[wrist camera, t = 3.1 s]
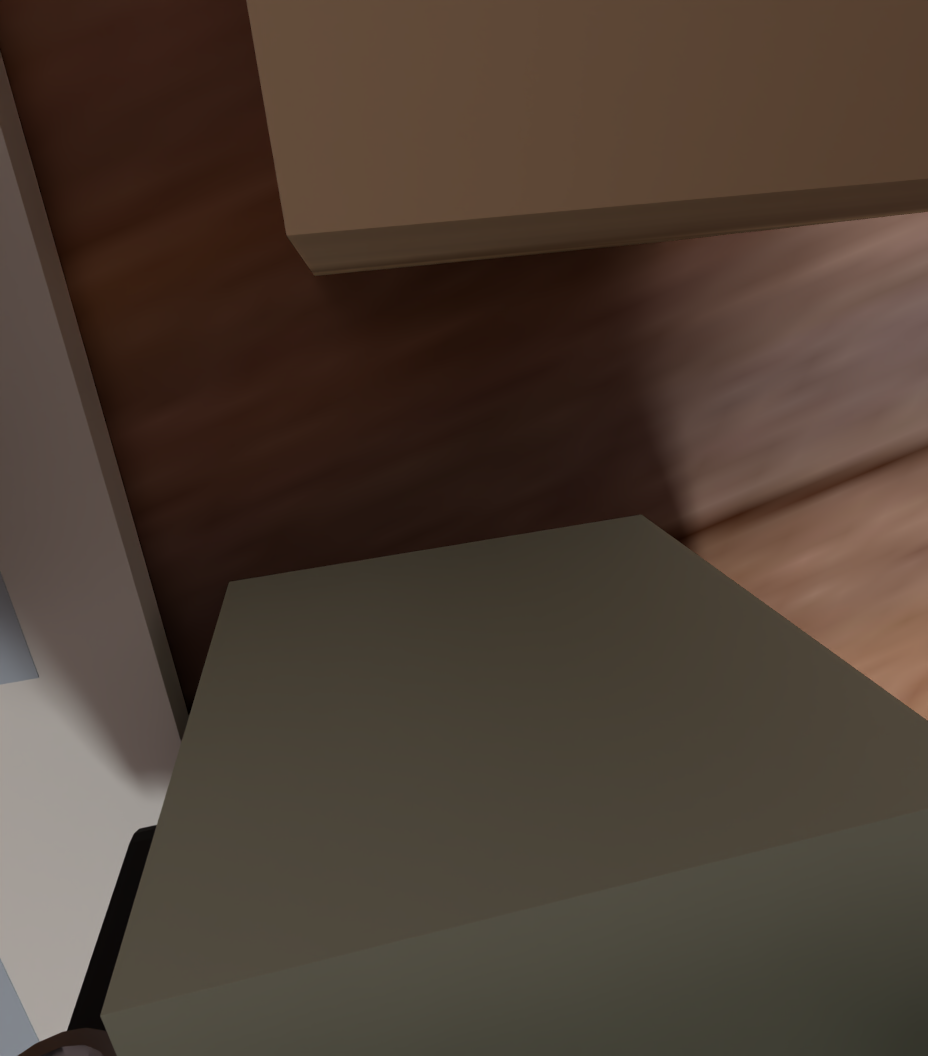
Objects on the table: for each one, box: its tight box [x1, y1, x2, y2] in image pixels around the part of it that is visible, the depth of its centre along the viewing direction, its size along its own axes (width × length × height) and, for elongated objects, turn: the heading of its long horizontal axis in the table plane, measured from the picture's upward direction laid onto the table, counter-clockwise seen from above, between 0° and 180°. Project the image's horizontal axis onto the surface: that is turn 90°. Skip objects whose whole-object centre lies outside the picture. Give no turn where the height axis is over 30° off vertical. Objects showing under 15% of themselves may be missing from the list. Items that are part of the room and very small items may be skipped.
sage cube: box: [100, 515, 928, 1056], centre depth 8 cm, size 6×6×6 cm
